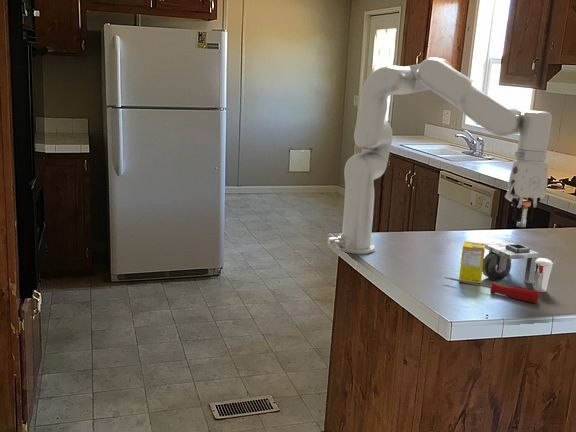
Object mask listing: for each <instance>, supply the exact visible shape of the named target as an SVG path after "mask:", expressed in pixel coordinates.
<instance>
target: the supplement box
mask: <svg viewBox="0 0 576 432" xmlns="http://www.w3.org/2000/svg"><path fill="white" fill-rule="evenodd" d="M482 243H483V242H472V241H471V242H470V241H465V240H464V241H463V243H462V252H461V260H460V266H459V279H458V280H463V281H468V282H472V283H477V284H482V283H481V281H482V275H483V272H482V268H483V260H484V258H485V251H486V249H485V244H482ZM458 283H459V284H466V285H469V284H468V283H464V282H459V281H458Z"/></svg>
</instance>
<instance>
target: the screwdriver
mask: <svg viewBox="0 0 576 432" xmlns="http://www.w3.org/2000/svg"><path fill="white" fill-rule="evenodd" d="M443 278H444V279H446V280H451V281H456V282H458V283H459V282H464V283H463V284H465V283H468V284H467V285H475V286H477V287H483V288H487V289H490V294H491V295H492V294H499V295H504V296H507V297H509V298H511V299H515V300H517V301H523V302H528V303H532V304H537V303H538V302H539V298H540V292H538V291H537V290H534V289H529V288H525V287H520V286H515V285H513V286H512V285H511V286H510V285H508V286H507V285H501V284H498V283H496V281H495V282H494V281H492V283H491V285H487V284H486V285H485V284H482V283H481V284H477V283H472V282H468V281H463V280H459V279H457V278H452V277H447V276H444V277H443Z"/></svg>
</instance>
